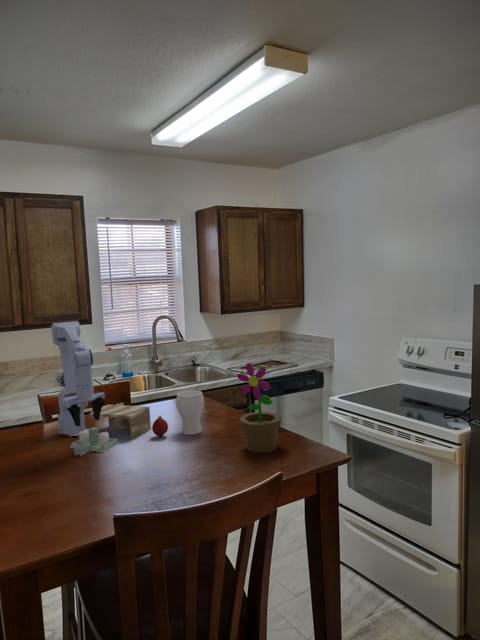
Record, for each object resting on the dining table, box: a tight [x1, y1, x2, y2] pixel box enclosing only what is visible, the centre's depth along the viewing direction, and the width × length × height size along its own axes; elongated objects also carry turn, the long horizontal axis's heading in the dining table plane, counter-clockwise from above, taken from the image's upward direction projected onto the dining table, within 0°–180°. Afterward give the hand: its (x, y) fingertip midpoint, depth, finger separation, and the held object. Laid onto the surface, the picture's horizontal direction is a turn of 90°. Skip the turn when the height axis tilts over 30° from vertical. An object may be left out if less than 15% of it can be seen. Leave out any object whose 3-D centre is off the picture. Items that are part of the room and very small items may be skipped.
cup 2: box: [175, 389, 205, 436], centre depth 174 cm, size 11×11×15 cm
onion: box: [151, 415, 169, 438], centre depth 170 cm, size 6×6×8 cm
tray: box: [69, 426, 119, 457], centre depth 162 cm, size 14×14×7 cm
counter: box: [89, 404, 152, 441], centre depth 178 cm, size 19×12×9 cm, turn 70°
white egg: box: [99, 431, 110, 447], centre depth 163 cm, size 3×3×4 cm
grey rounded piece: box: [78, 430, 90, 445], centre depth 166 cm, size 3×3×4 cm
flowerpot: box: [236, 362, 282, 454], centre depth 154 cm, size 14×14×30 cm
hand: (87, 422), depth 160 cm, fingers open, 7 cm apart
